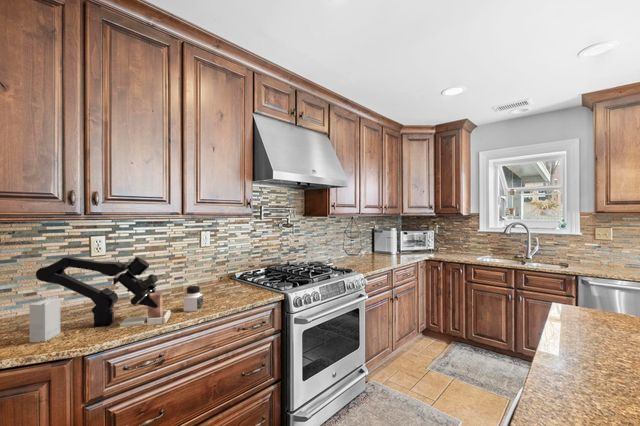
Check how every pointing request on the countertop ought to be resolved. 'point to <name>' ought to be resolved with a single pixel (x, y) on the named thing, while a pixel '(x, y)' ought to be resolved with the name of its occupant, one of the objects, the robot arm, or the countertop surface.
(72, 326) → the countertop surface
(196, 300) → the medicine bottle
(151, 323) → the toolbox compartment
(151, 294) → the pink rectangular block
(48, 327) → the skincare box
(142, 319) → the lid board
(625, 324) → the countertop surface
